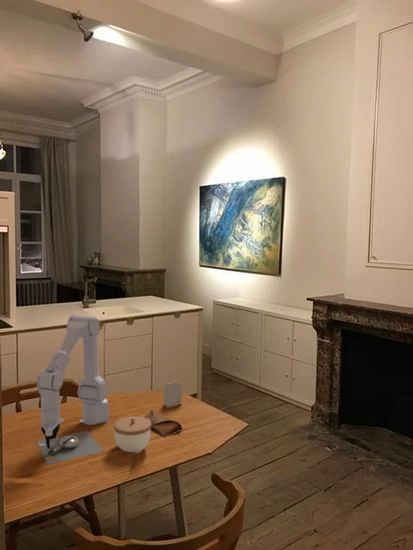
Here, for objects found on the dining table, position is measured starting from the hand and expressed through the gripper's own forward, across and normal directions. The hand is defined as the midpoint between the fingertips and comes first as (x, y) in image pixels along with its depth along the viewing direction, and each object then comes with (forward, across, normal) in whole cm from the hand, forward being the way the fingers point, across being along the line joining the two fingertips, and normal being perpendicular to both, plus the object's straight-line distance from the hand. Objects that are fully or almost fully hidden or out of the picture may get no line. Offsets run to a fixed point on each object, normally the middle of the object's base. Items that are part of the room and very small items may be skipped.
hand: (51, 447), depth 149 cm
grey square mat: (+3, +3, -6) cm, 7 cm away
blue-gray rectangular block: (+4, +36, -47) cm, 59 cm away
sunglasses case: (+4, +15, -38) cm, 41 cm away
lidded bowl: (+3, -1, -26) cm, 27 cm away
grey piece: (+2, +2, -4) cm, 4 cm away
